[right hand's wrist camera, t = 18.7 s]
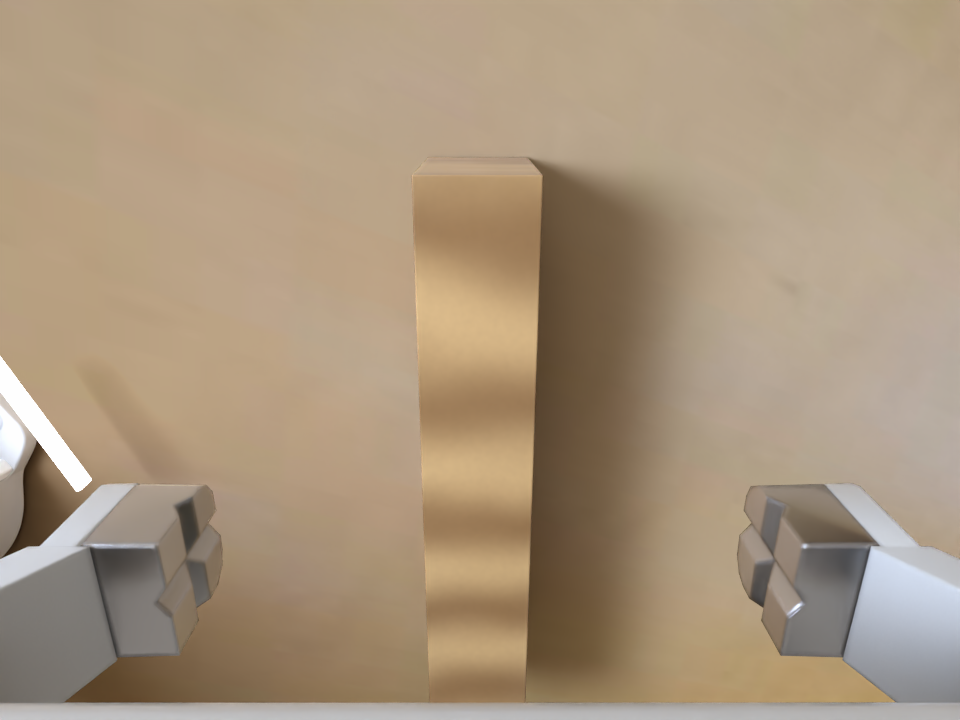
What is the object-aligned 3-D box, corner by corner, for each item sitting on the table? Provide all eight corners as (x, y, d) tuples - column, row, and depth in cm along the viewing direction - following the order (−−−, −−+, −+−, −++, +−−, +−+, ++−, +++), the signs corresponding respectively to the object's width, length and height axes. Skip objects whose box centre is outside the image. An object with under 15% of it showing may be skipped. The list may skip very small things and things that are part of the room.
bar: (427, 156, 32) (411, 174, 24) (528, 157, 32) (543, 175, 24) (439, 617, 41) (430, 733, 34) (516, 617, 41) (524, 733, 34)
